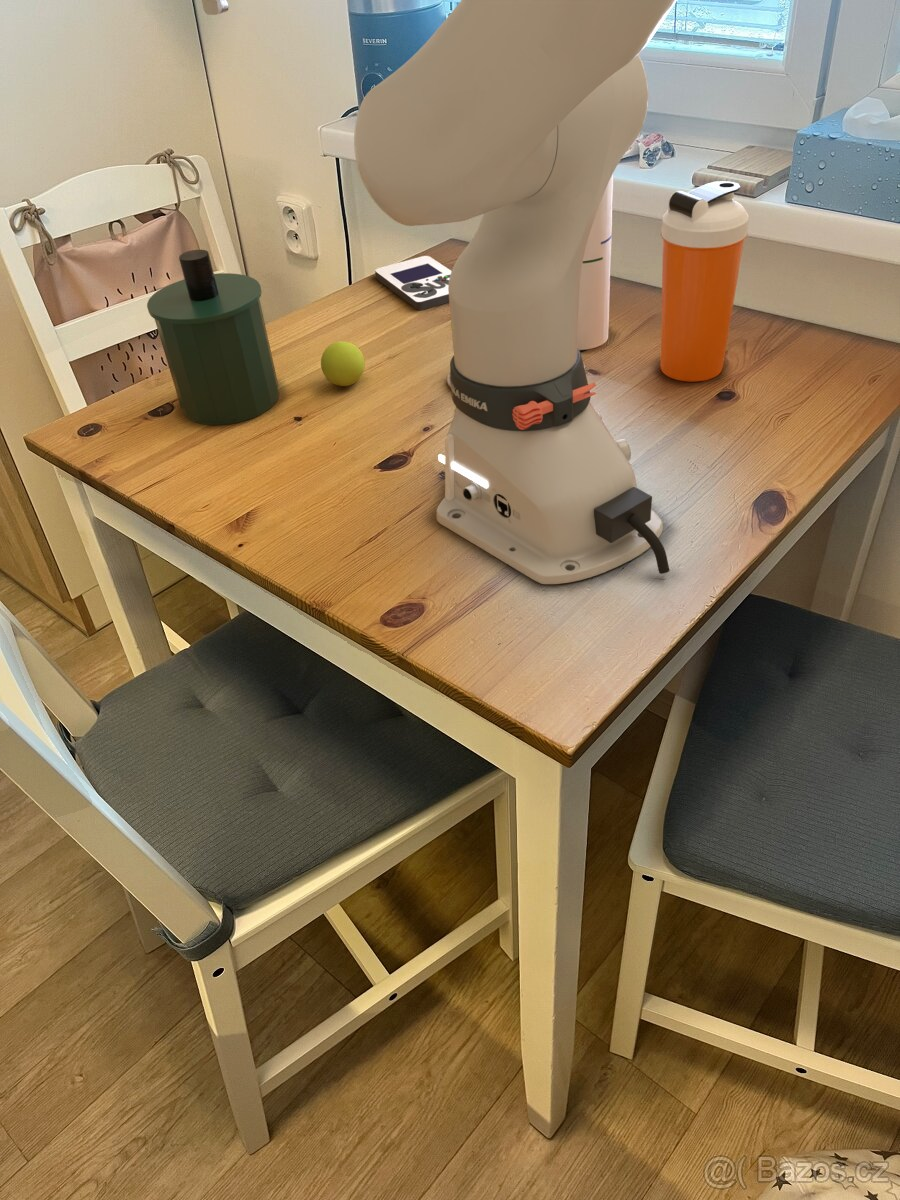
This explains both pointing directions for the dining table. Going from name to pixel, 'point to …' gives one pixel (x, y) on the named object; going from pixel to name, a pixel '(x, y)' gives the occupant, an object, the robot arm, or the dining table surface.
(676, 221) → the shaker bottle
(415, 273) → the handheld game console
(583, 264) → the cylindrical container
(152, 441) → the dining table surface
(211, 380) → the canister
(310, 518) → the dining table surface
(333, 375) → the ball
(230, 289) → the canister lid
